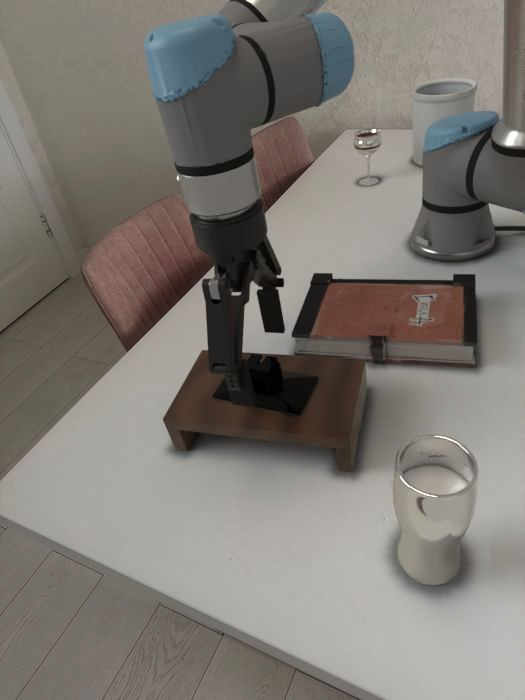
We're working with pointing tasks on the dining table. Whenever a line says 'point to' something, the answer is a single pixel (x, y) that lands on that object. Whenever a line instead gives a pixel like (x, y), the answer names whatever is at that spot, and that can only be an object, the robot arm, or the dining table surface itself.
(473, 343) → the book
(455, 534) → the beer glass
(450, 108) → the utensil holder
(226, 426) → the shelf
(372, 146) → the wineglass
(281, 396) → the build plate
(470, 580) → the dining table surface
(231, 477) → the dining table surface
